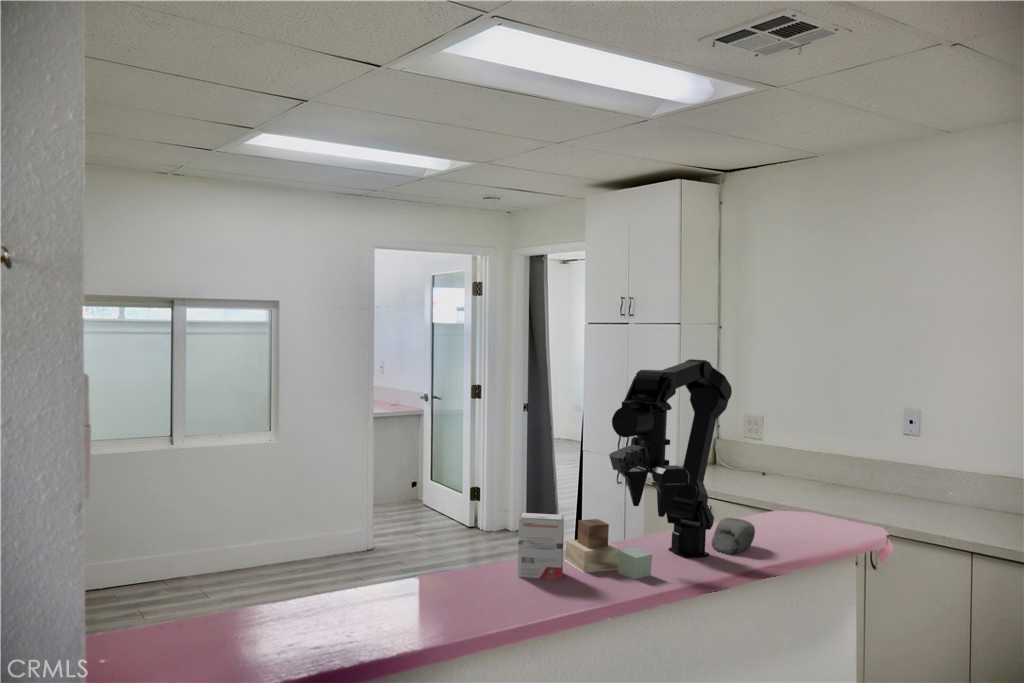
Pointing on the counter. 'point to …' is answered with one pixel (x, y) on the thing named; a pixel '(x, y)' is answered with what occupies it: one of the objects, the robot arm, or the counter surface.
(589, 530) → the walnut cube
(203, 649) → the counter surface
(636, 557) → the sage block
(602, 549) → the birch base block
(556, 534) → the ink box
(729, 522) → the stone
